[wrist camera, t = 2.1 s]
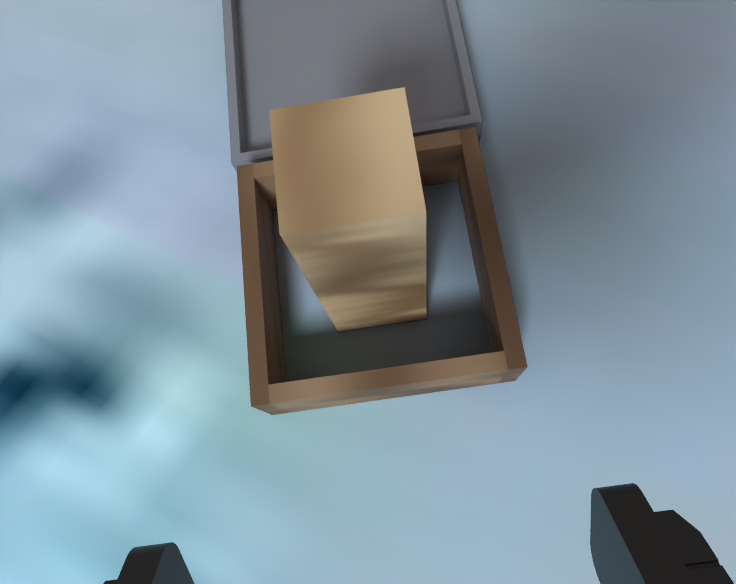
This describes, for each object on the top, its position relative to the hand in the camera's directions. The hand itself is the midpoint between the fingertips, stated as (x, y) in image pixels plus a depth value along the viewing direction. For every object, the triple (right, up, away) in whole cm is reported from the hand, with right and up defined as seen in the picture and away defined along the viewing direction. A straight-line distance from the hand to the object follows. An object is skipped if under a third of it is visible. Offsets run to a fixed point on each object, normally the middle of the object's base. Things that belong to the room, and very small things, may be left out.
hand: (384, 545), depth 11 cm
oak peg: (0, +5, +18) cm, 19 cm away
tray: (-2, +18, +22) cm, 29 cm away
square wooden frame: (0, +5, +18) cm, 19 cm away
